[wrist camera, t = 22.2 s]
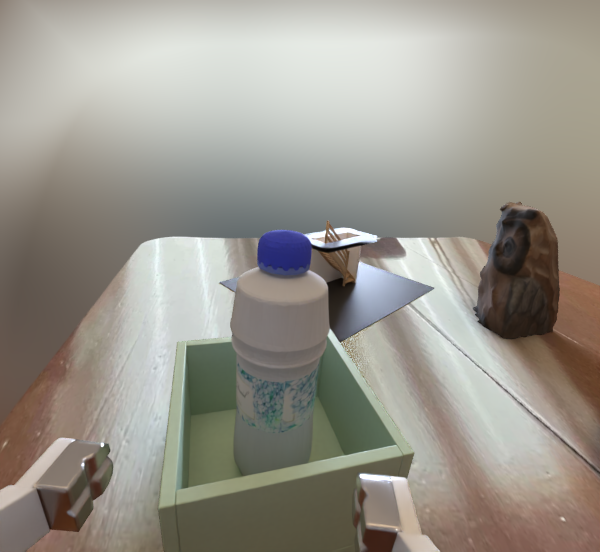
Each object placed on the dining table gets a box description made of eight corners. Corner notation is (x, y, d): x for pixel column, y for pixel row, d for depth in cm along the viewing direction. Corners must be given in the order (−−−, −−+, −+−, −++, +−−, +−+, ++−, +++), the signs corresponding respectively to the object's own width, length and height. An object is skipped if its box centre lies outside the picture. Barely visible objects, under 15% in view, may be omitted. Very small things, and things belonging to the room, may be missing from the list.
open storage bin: (171, 608, 19) (157, 509, 16) (183, 418, 32) (177, 341, 29) (388, 542, 23) (414, 453, 20) (321, 397, 36) (330, 328, 33)
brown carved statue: (503, 342, 50) (550, 214, 43) (444, 305, 61) (473, 198, 54) (557, 332, 54) (608, 214, 47) (492, 299, 65) (526, 199, 58)
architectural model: (329, 348, 45) (342, 251, 40) (219, 282, 63) (218, 209, 58) (434, 288, 69) (451, 222, 64) (333, 252, 87) (339, 199, 81)
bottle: (230, 435, 29) (229, 217, 22) (302, 427, 31) (324, 220, 23) (231, 511, 23) (230, 247, 16) (320, 497, 25) (358, 248, 17)
